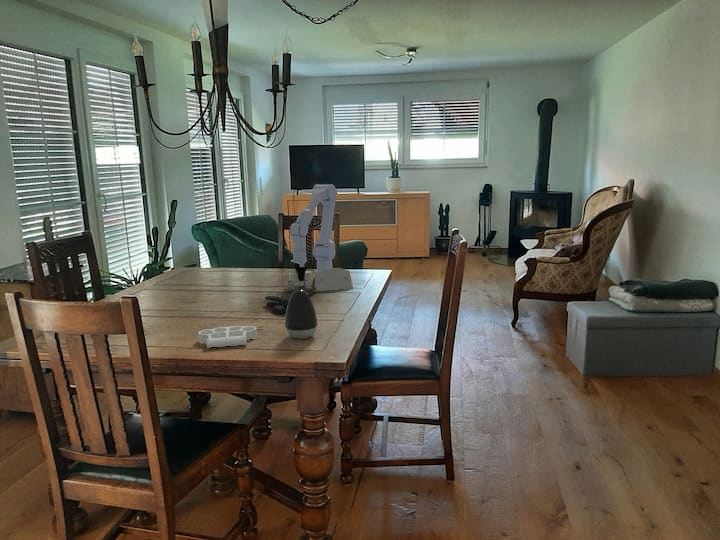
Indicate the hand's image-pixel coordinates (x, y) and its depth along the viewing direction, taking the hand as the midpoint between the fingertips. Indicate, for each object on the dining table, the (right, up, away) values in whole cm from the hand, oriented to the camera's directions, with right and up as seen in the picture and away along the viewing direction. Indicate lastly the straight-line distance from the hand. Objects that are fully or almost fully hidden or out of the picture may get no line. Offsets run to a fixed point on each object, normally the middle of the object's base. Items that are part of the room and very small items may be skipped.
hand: (300, 280), depth 245 cm
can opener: (-5, -11, -38) cm, 40 cm away
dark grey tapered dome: (+8, -17, -72) cm, 75 cm away
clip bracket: (0, -4, -9) cm, 10 cm away
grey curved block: (+15, -4, -7) cm, 17 cm away
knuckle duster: (-15, -18, -74) cm, 78 cm away
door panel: (0, -3, 0) cm, 3 cm away
